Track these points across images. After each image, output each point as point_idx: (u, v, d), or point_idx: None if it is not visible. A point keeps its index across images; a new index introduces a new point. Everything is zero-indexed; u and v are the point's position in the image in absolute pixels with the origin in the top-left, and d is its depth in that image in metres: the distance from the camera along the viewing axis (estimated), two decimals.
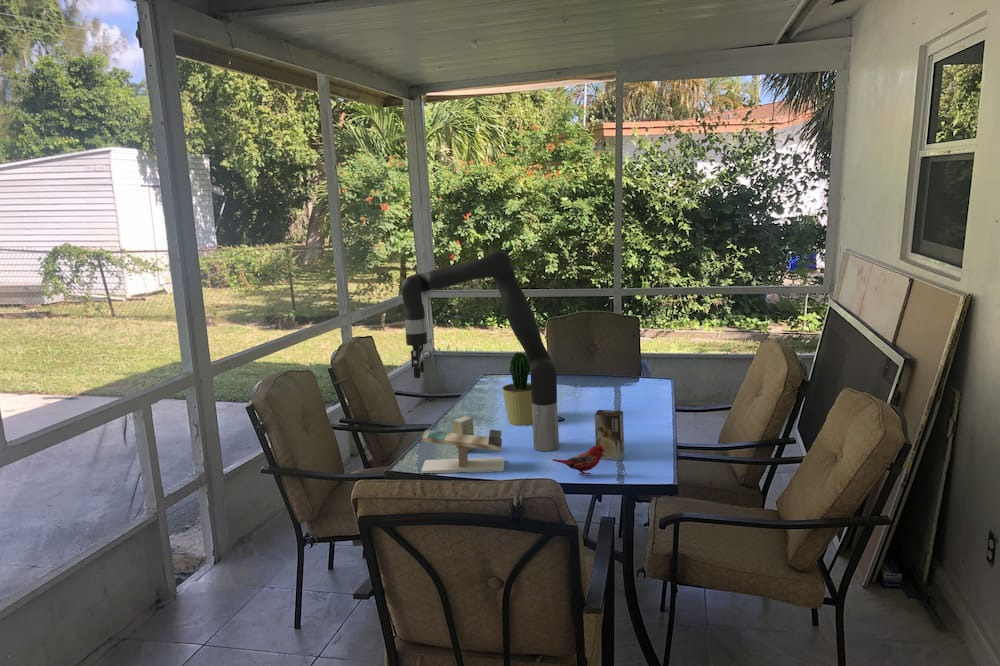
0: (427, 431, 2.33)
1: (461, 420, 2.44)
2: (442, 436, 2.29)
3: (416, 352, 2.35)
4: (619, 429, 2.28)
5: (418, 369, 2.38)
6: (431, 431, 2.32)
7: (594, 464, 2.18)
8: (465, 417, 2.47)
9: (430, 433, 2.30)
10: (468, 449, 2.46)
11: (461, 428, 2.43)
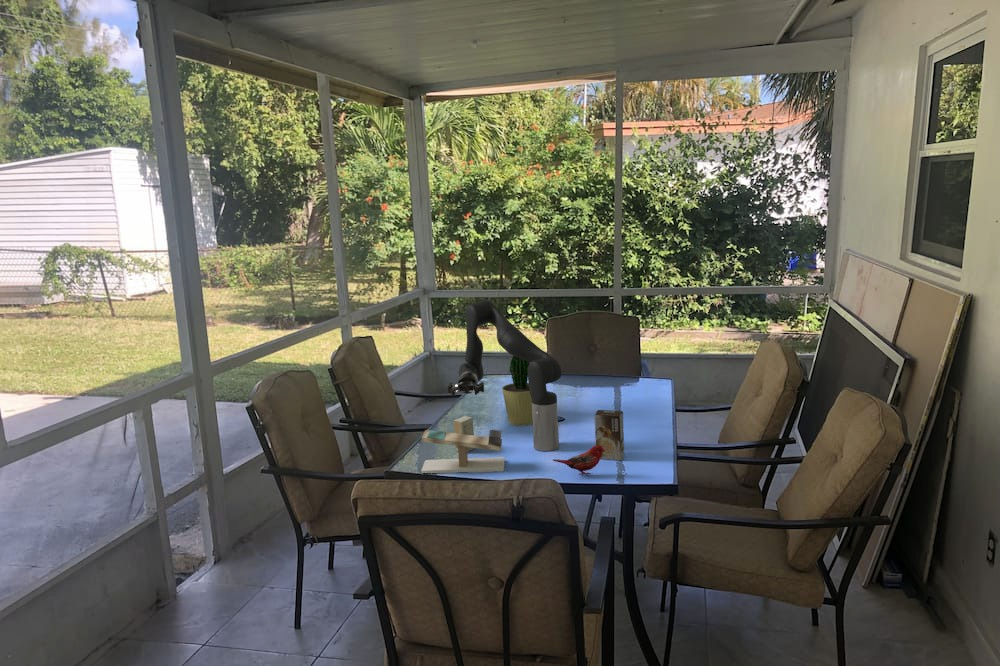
0: (427, 431, 2.33)
1: (461, 420, 2.44)
2: (442, 436, 2.29)
3: None
4: (619, 429, 2.28)
5: (452, 389, 2.59)
6: (431, 431, 2.32)
7: (594, 464, 2.18)
8: (465, 417, 2.47)
9: (430, 433, 2.30)
10: (468, 449, 2.46)
11: (461, 428, 2.43)
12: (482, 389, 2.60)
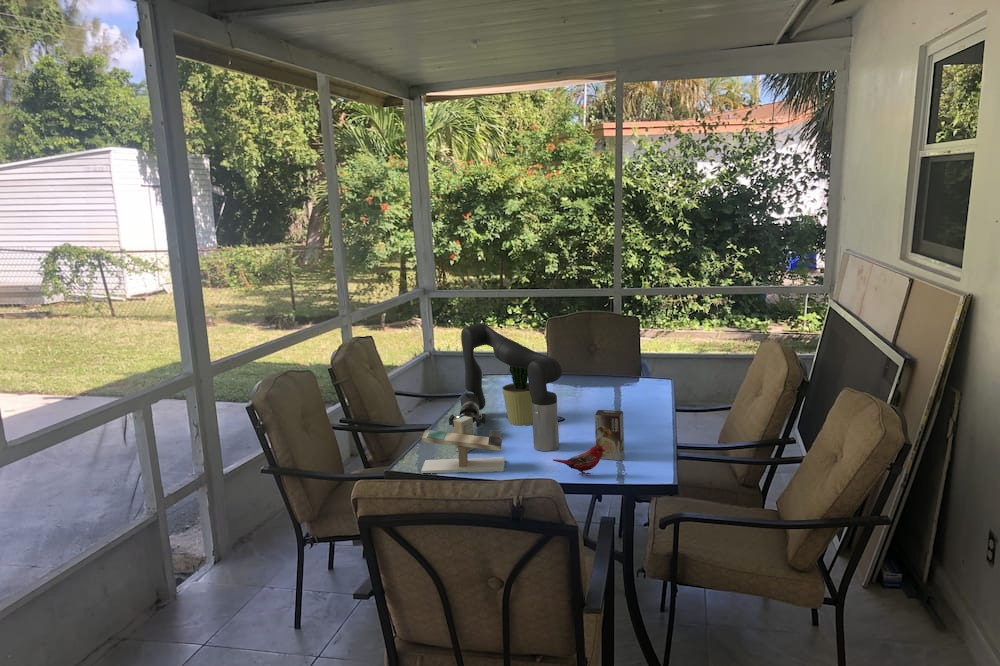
0: (427, 431, 2.33)
1: (461, 420, 2.44)
2: (442, 436, 2.29)
3: None
4: (619, 429, 2.28)
5: (453, 421, 2.58)
6: (431, 431, 2.32)
7: (594, 464, 2.18)
8: (465, 417, 2.47)
9: (430, 433, 2.30)
10: (468, 449, 2.46)
11: (461, 428, 2.43)
12: (484, 421, 2.59)
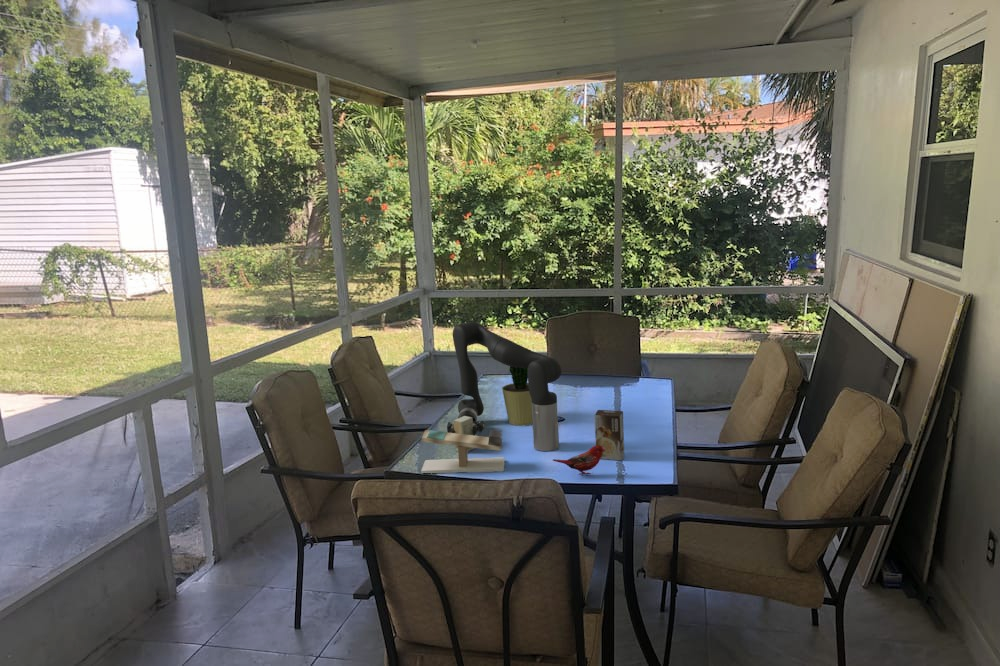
0: (427, 431, 2.33)
1: (461, 420, 2.44)
2: (442, 436, 2.29)
3: None
4: (619, 429, 2.28)
5: (452, 429, 2.48)
6: (431, 431, 2.32)
7: (594, 464, 2.18)
8: (465, 417, 2.47)
9: (430, 433, 2.30)
10: (468, 449, 2.46)
11: (461, 428, 2.43)
12: (480, 429, 2.49)
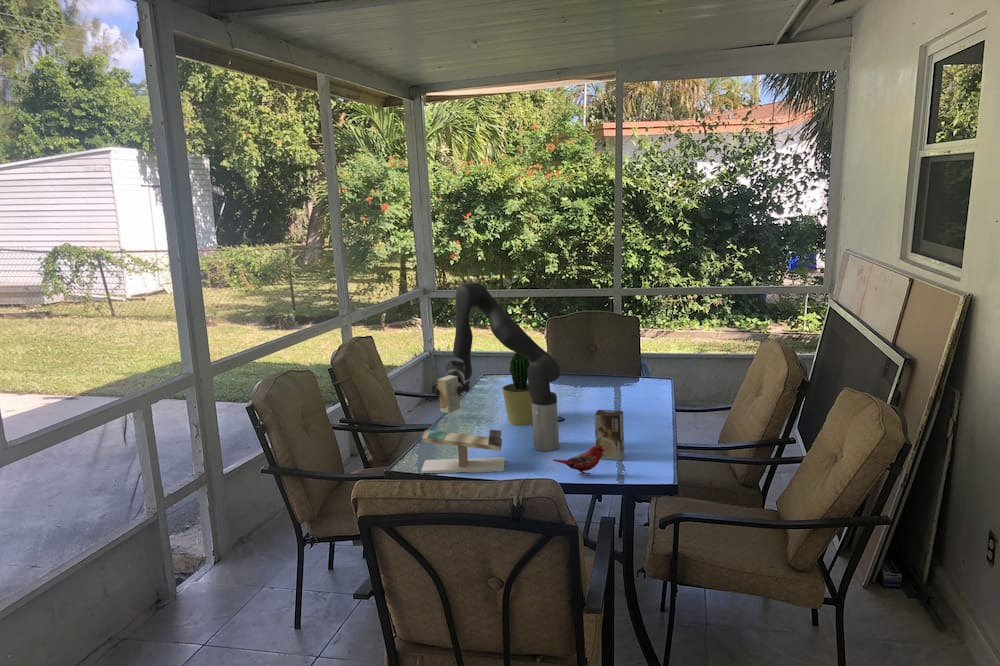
0: (427, 431, 2.33)
1: (445, 379, 2.35)
2: (442, 436, 2.29)
3: None
4: (619, 429, 2.28)
5: (436, 388, 2.39)
6: (431, 431, 2.32)
7: (594, 464, 2.18)
8: (450, 376, 2.38)
9: (430, 433, 2.30)
10: (453, 409, 2.37)
11: (445, 387, 2.34)
12: (466, 389, 2.39)
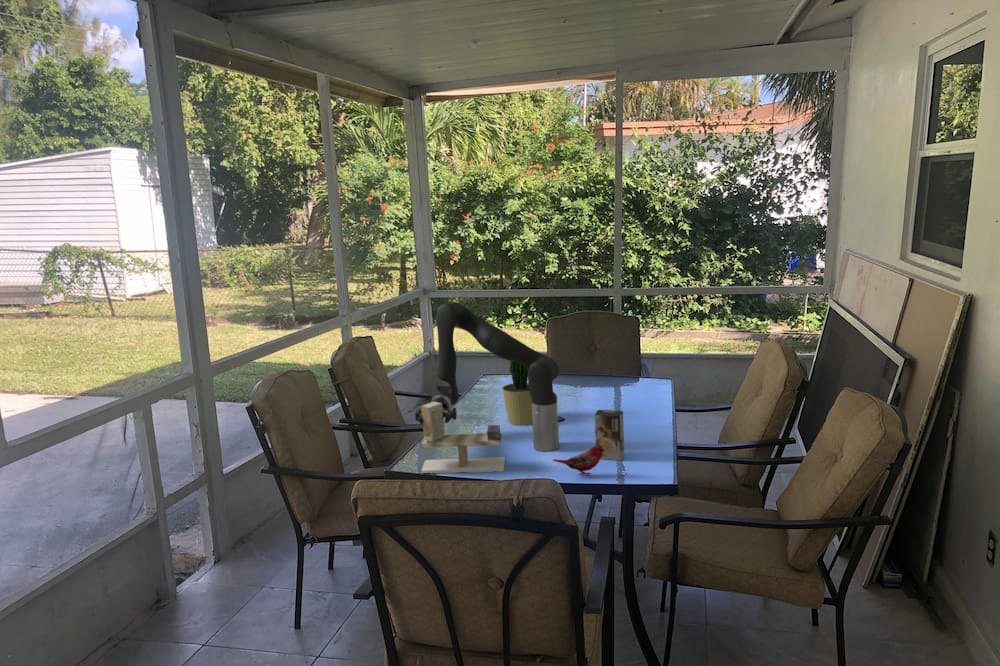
0: None
1: (429, 406, 2.26)
2: (441, 439, 2.29)
3: None
4: (619, 429, 2.28)
5: (420, 416, 2.30)
6: None
7: (594, 464, 2.18)
8: (434, 403, 2.29)
9: None
10: (437, 437, 2.28)
11: (429, 415, 2.25)
12: (454, 416, 2.31)
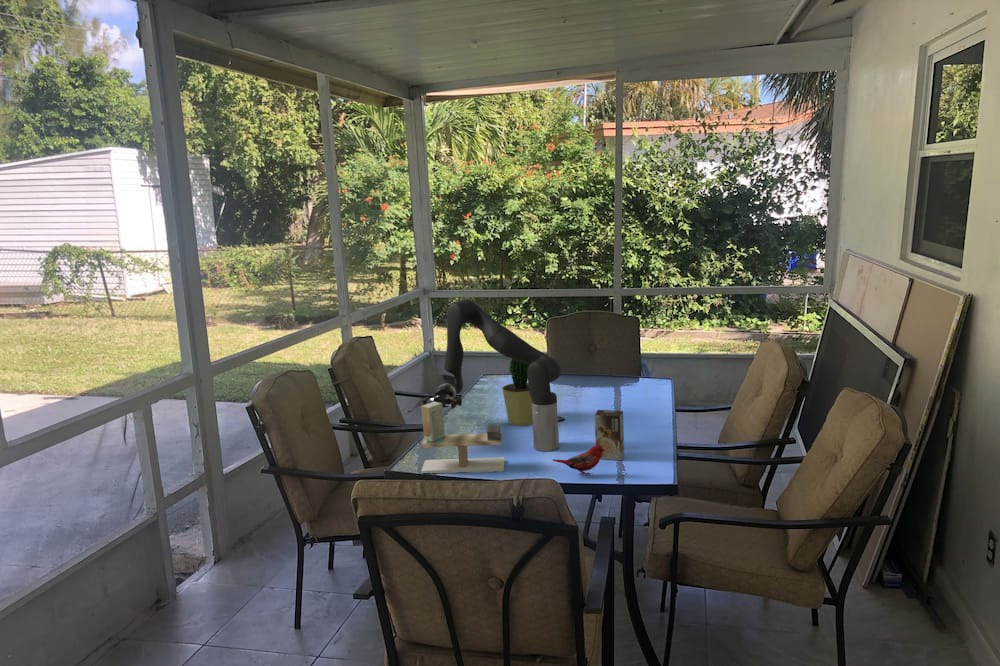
0: None
1: (429, 406, 2.26)
2: (441, 439, 2.29)
3: None
4: (619, 429, 2.28)
5: (427, 403, 2.44)
6: None
7: (594, 464, 2.18)
8: (434, 403, 2.29)
9: None
10: (437, 437, 2.28)
11: (429, 415, 2.25)
12: (459, 403, 2.44)
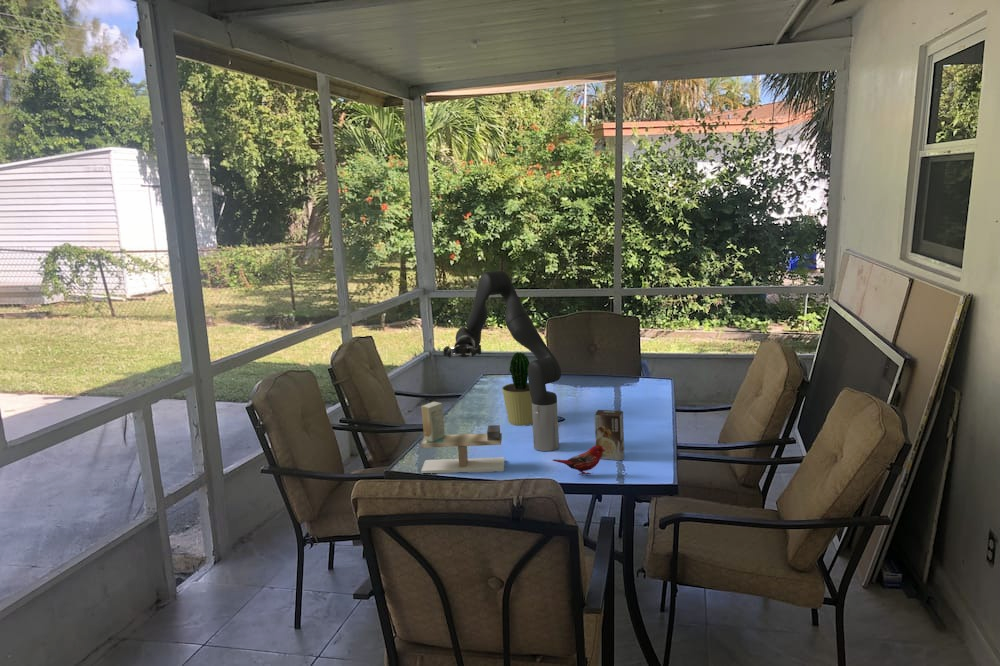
0: None
1: (429, 406, 2.26)
2: (441, 439, 2.29)
3: None
4: (619, 429, 2.28)
5: (448, 351, 2.52)
6: None
7: (594, 464, 2.18)
8: (434, 403, 2.29)
9: None
10: (437, 437, 2.28)
11: (429, 415, 2.25)
12: (479, 351, 2.52)
